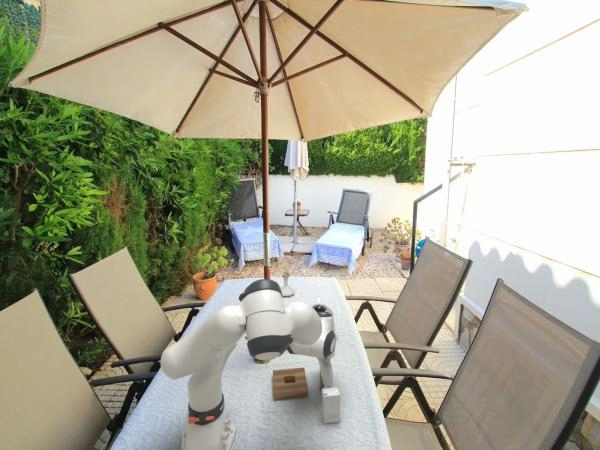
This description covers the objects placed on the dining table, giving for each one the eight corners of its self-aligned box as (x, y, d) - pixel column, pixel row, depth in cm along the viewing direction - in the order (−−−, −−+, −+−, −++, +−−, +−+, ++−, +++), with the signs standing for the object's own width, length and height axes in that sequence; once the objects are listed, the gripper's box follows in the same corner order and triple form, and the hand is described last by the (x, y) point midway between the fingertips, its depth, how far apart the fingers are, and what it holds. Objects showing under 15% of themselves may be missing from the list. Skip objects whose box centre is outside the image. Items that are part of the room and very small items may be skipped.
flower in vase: (276, 292, 230) (275, 259, 225) (291, 290, 234) (290, 257, 228) (281, 300, 218) (279, 264, 213) (297, 297, 222) (296, 262, 216)
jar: (335, 350, 162) (335, 304, 156) (305, 350, 162) (304, 304, 156) (331, 330, 180) (331, 288, 175) (305, 330, 180) (304, 288, 175)
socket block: (308, 397, 131) (308, 389, 130) (273, 400, 130) (273, 393, 129) (304, 374, 145) (304, 367, 144) (273, 377, 143) (272, 370, 143)
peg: (327, 390, 134) (327, 369, 132) (320, 391, 134) (320, 370, 132) (326, 385, 137) (326, 365, 135) (319, 386, 137) (319, 365, 135)
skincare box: (337, 413, 123) (338, 385, 120) (340, 423, 118) (340, 394, 116) (321, 415, 122) (321, 387, 119) (323, 424, 118) (323, 396, 115)
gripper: (336, 365, 121) (336, 396, 124) (327, 335, 141) (327, 363, 144) (320, 366, 121) (320, 398, 124) (313, 336, 141) (313, 364, 144)
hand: (324, 379), depth 134 cm, fingers open, 8 cm apart
